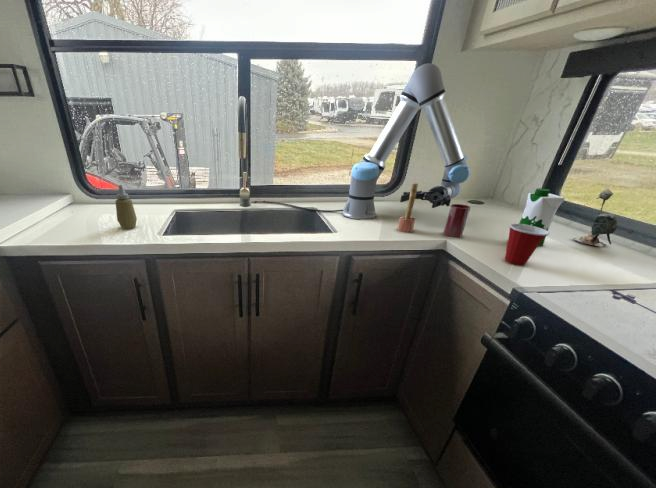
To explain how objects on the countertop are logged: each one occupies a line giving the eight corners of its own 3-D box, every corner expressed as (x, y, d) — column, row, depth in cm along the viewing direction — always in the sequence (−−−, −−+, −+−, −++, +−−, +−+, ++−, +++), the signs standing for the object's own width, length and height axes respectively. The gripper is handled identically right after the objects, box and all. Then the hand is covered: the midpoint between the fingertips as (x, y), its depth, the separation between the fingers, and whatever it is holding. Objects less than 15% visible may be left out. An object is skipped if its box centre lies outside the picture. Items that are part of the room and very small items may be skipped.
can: (443, 237, 136) (451, 207, 130) (442, 232, 141) (450, 203, 135) (462, 239, 133) (471, 209, 127) (460, 234, 139) (469, 205, 133)
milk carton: (508, 239, 133) (527, 187, 123) (531, 239, 133) (552, 187, 123) (522, 246, 126) (545, 192, 116) (547, 246, 125) (571, 192, 116)
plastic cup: (542, 269, 108) (558, 233, 102) (504, 267, 109) (518, 231, 104) (525, 257, 117) (539, 223, 111) (491, 255, 119) (503, 221, 113)
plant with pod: (592, 249, 123) (621, 193, 113) (568, 239, 133) (593, 186, 123) (615, 249, 123) (646, 193, 113) (590, 239, 133) (617, 187, 123)
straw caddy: (396, 232, 141) (399, 219, 139) (397, 228, 146) (400, 215, 143) (412, 234, 139) (415, 220, 136) (412, 229, 144) (415, 217, 141)
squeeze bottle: (115, 228, 147) (105, 186, 138) (128, 223, 153) (121, 182, 144) (128, 231, 143) (119, 187, 135) (142, 226, 150) (134, 184, 141)
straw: (401, 230, 142) (412, 183, 133) (402, 228, 144) (412, 182, 134) (407, 231, 141) (418, 184, 132) (408, 229, 143) (418, 183, 134)
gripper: (465, 207, 146) (445, 216, 133) (410, 198, 162) (387, 205, 150) (471, 189, 142) (450, 197, 130) (414, 181, 158) (391, 187, 146)
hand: (416, 201), depth 140 cm, fingers open, 13 cm apart
